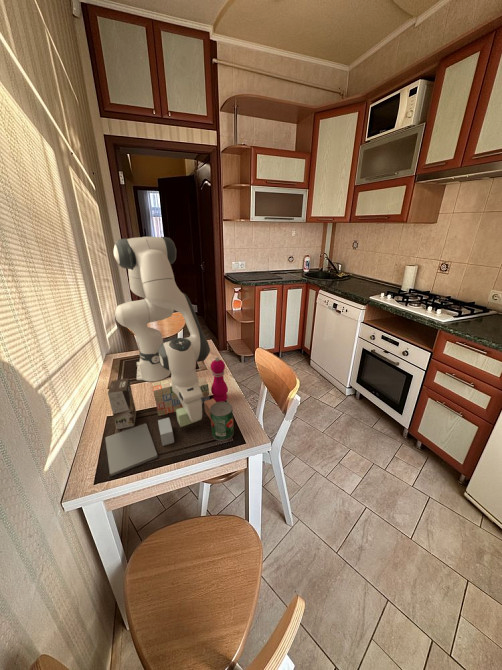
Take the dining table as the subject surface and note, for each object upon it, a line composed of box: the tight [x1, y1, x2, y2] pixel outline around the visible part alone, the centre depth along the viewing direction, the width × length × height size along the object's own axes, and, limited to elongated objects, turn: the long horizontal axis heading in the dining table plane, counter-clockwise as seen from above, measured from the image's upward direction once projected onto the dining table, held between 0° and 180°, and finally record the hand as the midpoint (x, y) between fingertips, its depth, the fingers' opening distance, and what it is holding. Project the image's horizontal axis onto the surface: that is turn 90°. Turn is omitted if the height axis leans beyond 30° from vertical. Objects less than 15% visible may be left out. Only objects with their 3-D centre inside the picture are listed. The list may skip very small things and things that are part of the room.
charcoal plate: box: [104, 423, 159, 477], centre depth 92 cm, size 18×14×1 cm
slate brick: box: [157, 417, 175, 447], centre depth 97 cm, size 4×8×5 cm, turn 24°
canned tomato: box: [210, 401, 235, 442], centre depth 97 cm, size 8×8×11 cm
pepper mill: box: [210, 356, 229, 402], centre depth 115 cm, size 7×7×20 cm
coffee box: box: [107, 377, 137, 430], centre depth 103 cm, size 9×6×16 cm
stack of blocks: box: [151, 377, 210, 417], centre depth 112 cm, size 21×6×12 cm, turn 113°
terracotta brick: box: [203, 398, 217, 420], centre depth 107 cm, size 4×8×5 cm, turn 31°
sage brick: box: [175, 407, 203, 428], centre depth 100 cm, size 4×8×5 cm, turn 120°
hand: (189, 415), depth 100 cm, fingers closed on sage brick, 4 cm apart
